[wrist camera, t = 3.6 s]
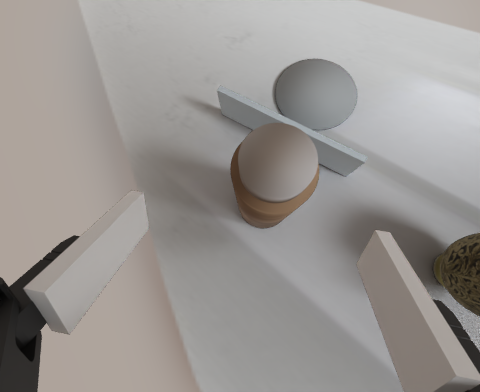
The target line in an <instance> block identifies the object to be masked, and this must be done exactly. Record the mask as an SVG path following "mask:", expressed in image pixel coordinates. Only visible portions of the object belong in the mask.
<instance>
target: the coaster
mask: <svg viewBox="0 0 480 392" xmlns="http://www.w3.org/2000/svg"><path fill="white" fill-rule="evenodd" d="M276 102H277V105H278V107H279V109H280V111H281V113H282V114H283V115H284V116H285V117H287V118H289V119H291V120H293V121H295V122H297V123H299V124H301V125H303V126H305V127H307V128H309V129H311V130H326V129H330V128H333V127H336V126H338V125H339V124H341V123H343V122H344V121H345V120H346V119H347V118H348V117H349V116H350V115H351V113H352V112H353V110H354V108H355V106H356V102H357V89H356V85H355V82H354V81H353V79H352V77H351V76H350V74H349V73H348V72H347V71H346V70H345V69H343V68H342V67H341V66H339V65H337V64H335V63H333V62H330V61H327V60H323V59H307V60H302V61H299V62H297V63H295V64H293V65H291V66H290V67H288V68H287V69H286V70H285V71H284V72H283V73H282V75H281V76H280V78H279V80H278V82H277V86H276Z"/></svg>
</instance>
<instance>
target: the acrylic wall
mask: <svg viewBox="0 0 480 392" xmlns="http://www.w3.org/2000/svg"><path fill="white" fill-rule="evenodd" d="M217 92H218V97H219V102H220V107H221V112H222V114H223V115H225V116H227V117H228V118H230V119H232V120H234V121H236V122H238V123H240V124H242V125H244V126H246V127H248V128H250V129H252V130H255V129H256V128H258V127H260V126H262V125H265V124H270V123H285V124H289V125H292V126H295V127H297V128H299V129H300V130H302V131H303V132H304V133H306V134H307V135H308V136H309V138H310V139H311V140H312V142H313V143H314V145H315V148H316V150H317V154H318V163H319V164H321V165H323V166H325V167H327V168H329V169H331V170H333V171H335V172H337V173H339V174H341V175H343V176H345V177H346V176H347V175H349V174H350V173H352V172H353V171H354V170H356V169H357V168H358V167H360V166H361V165H362V164H364V163H365V162H366V160H367V158H368V157H367V156H365V155H363V154H361V153H359V152H357V151H355V150H353V149H351V148H349V147H346V146H344V145H342V144H340V143H338V142H336V141H334V140H332V139H330V138H328V137H326V136H324V135H322V134H320V133H318V132H316V131H313V130H311V129H309V128H307V127H305V126H303V125H301V124H299V123H297V122H295V121H293V120H291V119H289V118H287V117H285V116H283V115H280V114H278V113H276V112H274V111H272V110H270V109H268V108H266V107H264V106H262V105H260V104H258V103H256V102H254V101H252V100H250V99H247V98H245V97H243V96H241V95H239V94H237V93H235V92H233V91H231V90H229V89H227V88H225V87H223V86H221V85H220V87H219V88H218V89H217Z"/></svg>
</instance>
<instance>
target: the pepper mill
mask: <svg viewBox="0 0 480 392" xmlns="http://www.w3.org/2000/svg"><path fill="white" fill-rule="evenodd" d="M231 178H232V182H233V186H234V190H235V195H236V199H237V203H238V207H239V210H240V213H241V215H242V217H243V218H244V220H245V221H246V222H247V223H249V224H250V225H252V226H254V227H257V228H270V227H273V226H275V225H277V224H278V223H280V222H281V221H282V220H283V219H285V218H286V217H287V216H288V215H289V214H291V213H292V212H293V211H294V210H296V209H297V208H298V207H299V206H301V205H302V204H303V203H304V202H305V201H306V200H308V198H309V197H310V196H311V195H312V193H313V192H314V190H315V188H316V186H317V183H318V179H319V164H318V154H317V150H316V148H315V145H314V143H313V142H312V140H311V139H310V138H309V136H308V135H307V134H306V133H304V132H303V131H302V130H300V129H299V128H297V127H295V126H292V125H289V124H285V123H270V124H265V125H262V126H260V127H258V128H256V129H255V130H253V131H252V132H251V133H249V134H248V136H247V137H246V138H245V139H244V140H243V141H242V143H241V144H240V145H239V146H238V147H237V149H236V151H235V153H234V155H233V158H232V161H231Z"/></svg>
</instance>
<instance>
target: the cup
mask: <svg viewBox="0 0 480 392" xmlns="http://www.w3.org/2000/svg"><path fill="white" fill-rule="evenodd" d="M433 272H434V275H435V278H436V279H437V281H438V282H439V283H440V284H441V285H442V286H443V287H444V288H446V289H447V290H448V292H449V293H450V294H451V295H452V297H453V298H454V299H455V300H456V301H457V302H459V303H460V304H461V305H462V306H463V307H465V308H466V309H468V310H469V311H471V312H473V313H474V314H476V315H478V316H480V233H477V234H473V235H469V236H466V237H464V238H461V239H459V240H457V241H455V242H454V243H453V244H451V245H450V246H449V247H448V248H447V249H446V250H445V252H444V253H443V254H441V255H439V256H438V257H437V258H436V260H435V261H434V264H433Z"/></svg>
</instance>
